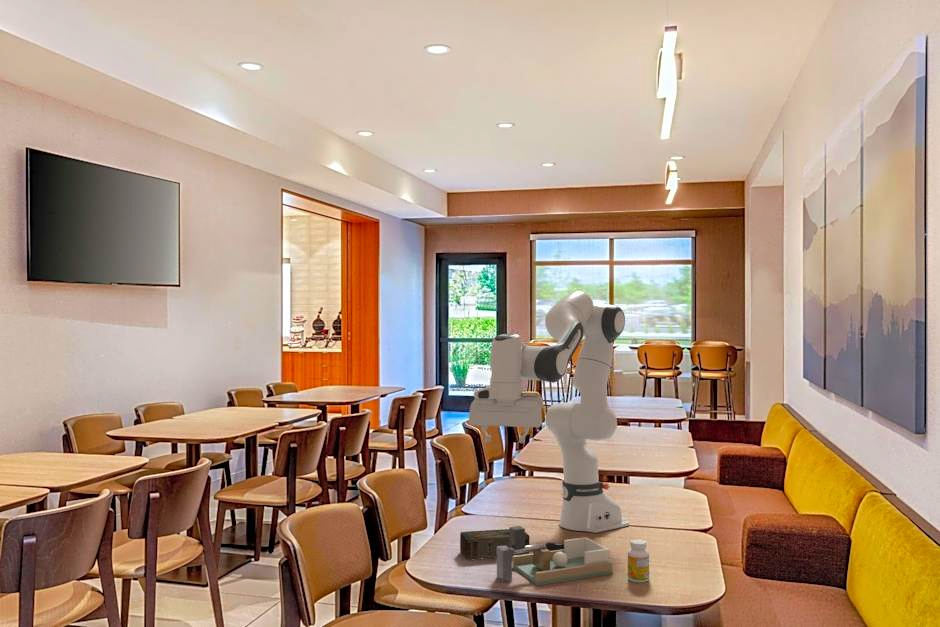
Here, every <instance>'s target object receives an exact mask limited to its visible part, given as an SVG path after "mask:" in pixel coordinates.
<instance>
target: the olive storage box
mask: <svg viewBox="0 0 940 627" xmlns="http://www.w3.org/2000/svg"><path fill="white" fill-rule="evenodd" d="M530 538H531V537H530V535H529V534H528V533H527V532H526V531H525V546H528V545H531V544H530ZM459 541H460V542H459V545H460V546H459V547H460V549H459V550H460V554H461V555H462V557H463V559H465V561H473V560H472V559H477V560H482V559H481V558H489V559H496V558H495V557H497V546H504V545H506V546H507V547H508V548H512V547H510V528H507V529H506V528H505V529H504V528H503V529H501V528H500V529H487V530H486V529H485V530H470V531H460V538H459ZM524 554H530V552H524V553H517V554H512V557H513V556H514V555H524Z"/></svg>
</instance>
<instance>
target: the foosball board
mask: <svg viewBox="0 0 940 627" xmlns="http://www.w3.org/2000/svg"><path fill="white" fill-rule="evenodd" d="M563 542H564V543H563V544H564V549H560V550H553V551H550V570H548V571H541V570H540V569H539V568H537V567H536V566H534V565H533V552H532V553H531V552H530V553H529V554H524V555H517V556H512V569H514V568H515V569H514V570H516V571H517V570H518V571H519V574H520V575H522V574H523V575H522V576H524V577H525V578H527V579H528V580H529V581H530V582H532V583H534V585H536V586H543V585H549V584H550V585H551V584H556V582H557V583H561V582H568V581H569V582H570V581H575V580H581V579H589V578H594V577H601V576H607V575H612V574H613V575H614V573H613V571H614V569H613V568H614V565H613V562H612V561H610V548H607V547H606V546H604V545H602V544H600V543H598V542H596V541H595V540H593V539H591V538H589V537H587V536H585V537H584V536H583V537H578V538H570V539H564V540H563ZM556 552H563V553H565V554H566V555H567V558H568V562H567V564H566V565H565V566H564V567H557V566H555V564H554V563H553V556H554V554H555V553H556ZM518 571H517V572H518Z"/></svg>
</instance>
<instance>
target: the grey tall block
mask: <svg viewBox="0 0 940 627" xmlns="http://www.w3.org/2000/svg"><path fill="white" fill-rule="evenodd" d="M496 578H497V579H498V580H500V581H501V582H502V583H507V582H512V581H513V556H512V550H511V549H510V548H508V547H507V546H506V545H504V546H497V558H496Z"/></svg>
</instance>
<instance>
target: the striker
mask: <svg viewBox="0 0 940 627" xmlns="http://www.w3.org/2000/svg"><path fill="white" fill-rule="evenodd" d="M509 529H510V547H512V548H510V549H511V550H512V554H517V553H524V552H529V553H531V552H532V553H533V565H534V566H536V567H537V568H539V569H540V570H541V571H548V570H550V551H549V550H548V549H546V543H538V544H530V545H528V546H525V532H526V530H525V528H524V527H523V526H521V525H515V526H510V527H509Z"/></svg>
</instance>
